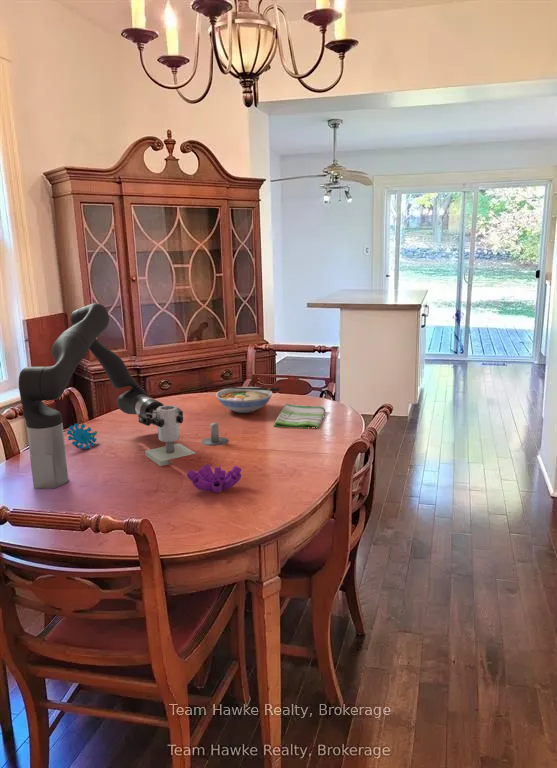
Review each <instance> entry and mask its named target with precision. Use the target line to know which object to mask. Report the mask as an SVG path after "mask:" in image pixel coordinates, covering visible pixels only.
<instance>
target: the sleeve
mask: <svg viewBox="0 0 557 768" xmlns="http://www.w3.org/2000/svg"><path fill="white" fill-rule="evenodd" d="M178 408H179V407H178V406H176V405H172V404H171V405H169V404H167V405H165V404H164V406H160V407H158V408H157V418H159V419H161V420H162V425H163V427H159V426H157V433H158V440H159V441H161V442H162V443H163V442H164V443H165V442H171V441H174V442H175V441H178V440H179V439H180V437H181V436H180V423H179V415H178Z"/></svg>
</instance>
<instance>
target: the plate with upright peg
mask: <svg viewBox="0 0 557 768" xmlns="http://www.w3.org/2000/svg"><path fill="white" fill-rule="evenodd" d="M164 443H165V446H161V447H157V448H151V449H146V450H145V451H144V455H145V456H146V457H147V458H149V459H150V460H151V461H153V462H154V463H155V464H157V465H158V466H159V467H162V466H167V465H171V464H173V462H171V460H174V459H177V458H181V457H185V456H191V455H195V454H197V453H196V452H195V451H193V450H191V449H190V448H188V447H186V446H185V445H183V444H182V443H175V441H171V442H164ZM169 460H170V461H169Z"/></svg>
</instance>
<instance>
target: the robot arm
mask: <svg viewBox="0 0 557 768" xmlns="http://www.w3.org/2000/svg"><path fill="white" fill-rule="evenodd" d="M70 321H71V324H72V326H70V327H69V328H67V329H66V330H64V331H63V332H61V334H60V335H59V336H58V338H57V339H56V340H55V341H54V343H53V344H52V347H51V356H52V358H53V361H54V362H55V364H54V365H51V366H26V367H24V368H22V369H21V371H20V372H19V377H18V390H19V391H18V392H19V396H20V402H21V407H22V414H23V417H24V421H25V424H26V433H27V441H28V449H29V459H30V466H31V467H30V469H31V476H32V484H33V485H32V486H33V489H56V488H58V487H59V486H63V485H64V484H67V483H68V481H69V472H68V464H67V463H68V462H67V455H66V454H67V453H66V445H65V436H64V435H65V434H64V426H63V415H62V413H61V412H60V411H59V410H57V409H54V408H51V407H49V405H46V404H45V403H44V402H43V401H54V400H58V399H60V398H61V397H62V396H63V394H64V392H65V390H66V388H67V386H68V385H69V381H70V380H71V378H72V376H73V374H74V372H75V370H76V368H77V367H78V365H79V364H80V363H81V362H82V360H83V359H84V357H85V356H86V355H87V353H88V351H90V352H91V353H92V354H93V356H94V357H95V359H97V361H98V362H99V364H100V365H101V367H102V369H103V370H104V373H105V374H106V375H107V377H108V379H109V382H111V384H112V386H113V387H114V389H122V388H125V387H130V389H129V390H126V391H125V392H123V393H122V394H119V396H118V397H117V399H116V405H117V407H118V409H119V410H120V411H122V413H124V414H127V415H137V417H138V423H140V424H142V425H144V426H147V427H150V425H153V426H156V427H158V426H159V427H163V425H162V420H161V419H159V418H157V408H158V407H160V406H165V404H164V403H162V402H160V401H158V400H156V398H155V399H154V398H153V397H149V396H148V394H147V392H146V391H145V389H143V387H141V386H140V384H138V383H137V381H136V380H135V379H134V378H133V376H132V375H131V373H130V371H129V369H128V368H127V366H126V364H125V362H124V361H123V360H122V358H121V357H120V356H119V355H118V354H116V353H115V352H113V351H112V350H110V348H108V347H106V346H104V345H103V344H102V343H101V342H100V341H99V340H98V339H97V338H98V337H99V336H100V335H101V333H103V332H104V331H105V330H106V329H107V327H108V326H109V322H110V315H109V312H108V310H107V308H106V306H104V305H103V304H100V303H91V304H87V305H84V306H83V307H79V308H77V309H75V310H73V311H72V313H71V314H70ZM183 414H184V412H183V410H182V409H181V408H180V407H178V415H179V424H183V422H184V415H183Z"/></svg>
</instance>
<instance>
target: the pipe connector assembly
mask: <svg viewBox="0 0 557 768" xmlns="http://www.w3.org/2000/svg"><path fill="white" fill-rule="evenodd" d="M241 472H242V468H240V467H239V466H237V465H234V466H233V467H232V469H231V470H228V471H227V473H226V470H224V469H223V470H222V467H221V466H220V467H214V471H213V469H212V468H211V465H210V464H205V465H202V468H199V469H198V471H195V470H194V469H191V470H189V471H188V472H187V473H186V474H185V475H186V477H187V479H189V480H190V482H191V483H192V486H194V487H195V488H196V489H197V490H199V491H202V492H213V493H217V494H218V493H221V491H224V490H227V489H230V488H232V487H233V486H235V485H236V484H237V483H238V482H239V481H240V479H241V477H242V474H241Z"/></svg>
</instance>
